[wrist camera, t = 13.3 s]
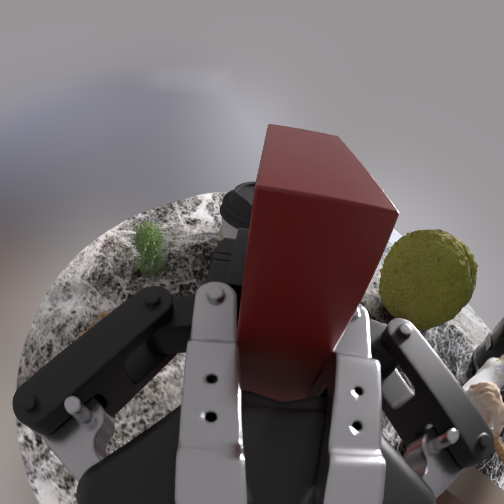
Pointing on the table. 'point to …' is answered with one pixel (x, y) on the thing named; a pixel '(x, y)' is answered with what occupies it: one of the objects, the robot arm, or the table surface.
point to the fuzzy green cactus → (149, 247)
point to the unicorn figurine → (489, 397)
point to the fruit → (427, 278)
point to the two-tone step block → (471, 490)
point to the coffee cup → (236, 210)
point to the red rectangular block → (306, 258)
